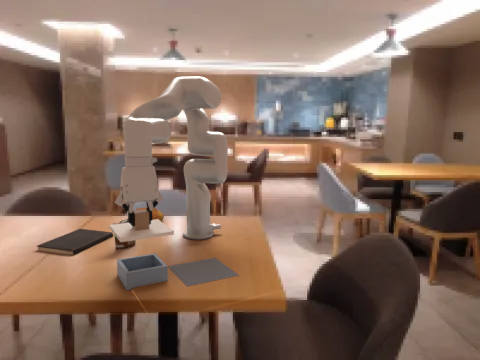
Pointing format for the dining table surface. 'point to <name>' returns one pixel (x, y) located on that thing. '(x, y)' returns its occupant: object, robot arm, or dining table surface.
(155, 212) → the croissant
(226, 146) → the robot arm
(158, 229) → the lid
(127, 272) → the dish
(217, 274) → the mat
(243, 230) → the dining table surface
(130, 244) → the food container
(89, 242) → the hardcover book
